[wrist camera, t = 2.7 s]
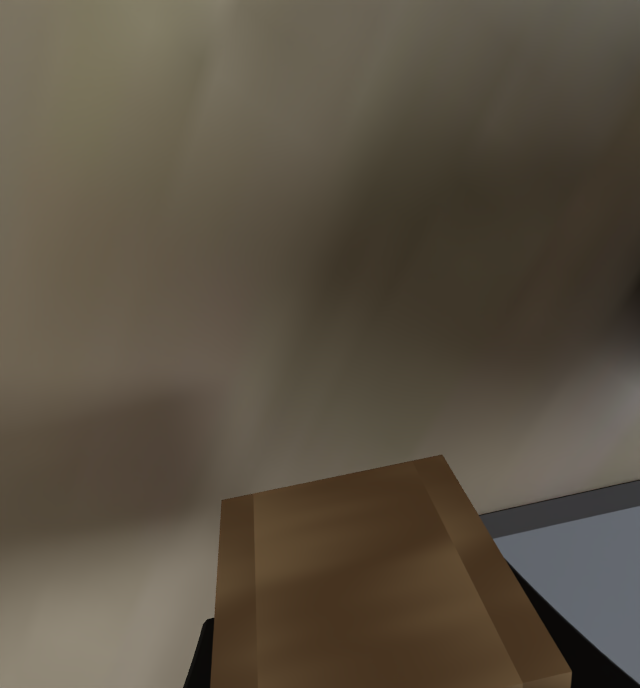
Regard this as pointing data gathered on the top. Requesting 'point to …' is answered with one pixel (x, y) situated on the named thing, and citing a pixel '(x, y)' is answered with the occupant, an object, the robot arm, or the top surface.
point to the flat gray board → (582, 563)
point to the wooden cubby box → (372, 590)
